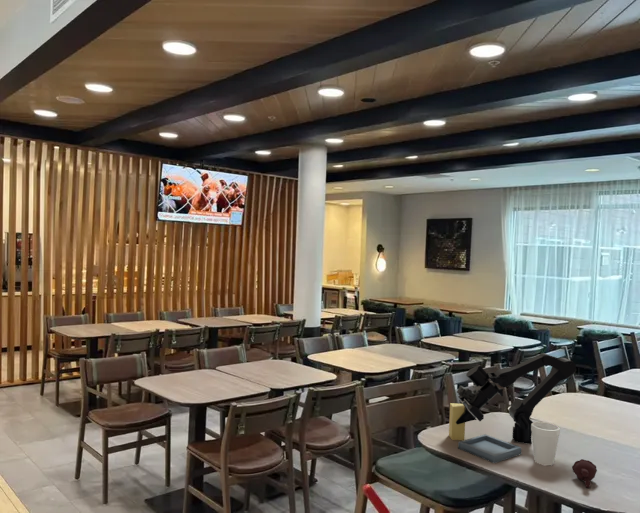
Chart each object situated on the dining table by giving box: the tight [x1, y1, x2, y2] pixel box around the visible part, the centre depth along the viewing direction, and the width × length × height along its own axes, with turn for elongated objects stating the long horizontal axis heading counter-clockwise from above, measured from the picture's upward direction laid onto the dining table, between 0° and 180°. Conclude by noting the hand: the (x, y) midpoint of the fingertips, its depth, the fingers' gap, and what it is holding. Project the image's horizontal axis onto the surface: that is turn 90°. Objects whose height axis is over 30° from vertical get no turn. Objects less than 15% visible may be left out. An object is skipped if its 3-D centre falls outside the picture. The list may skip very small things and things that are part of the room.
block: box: [448, 402, 466, 441], centre depth 212 cm, size 5×5×13 cm
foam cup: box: [531, 421, 561, 466], centre depth 191 cm, size 10×9×13 cm
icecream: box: [571, 458, 598, 489], centre depth 177 cm, size 7×7×15 cm
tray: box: [457, 433, 522, 464], centre depth 199 cm, size 16×16×2 cm
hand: (454, 421), depth 212 cm, fingers closed on block, 5 cm apart
